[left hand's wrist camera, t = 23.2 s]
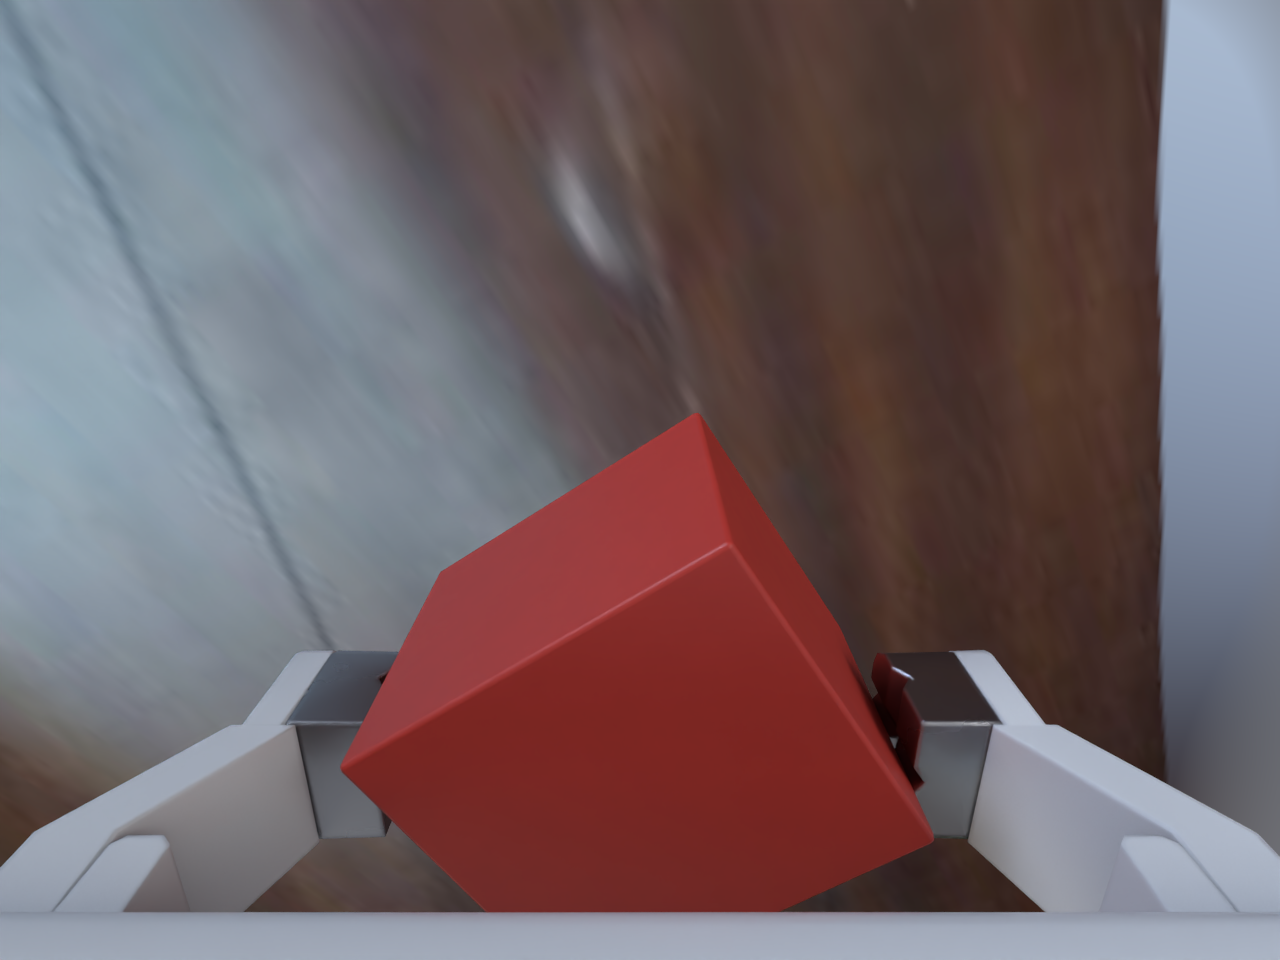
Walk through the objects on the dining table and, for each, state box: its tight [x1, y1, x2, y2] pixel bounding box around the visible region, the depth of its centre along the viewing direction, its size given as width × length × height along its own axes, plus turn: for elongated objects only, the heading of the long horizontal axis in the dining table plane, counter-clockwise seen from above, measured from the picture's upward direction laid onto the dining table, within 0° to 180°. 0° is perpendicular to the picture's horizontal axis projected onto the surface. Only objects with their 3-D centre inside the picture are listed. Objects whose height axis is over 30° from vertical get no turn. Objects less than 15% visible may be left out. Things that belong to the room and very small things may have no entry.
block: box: [340, 413, 934, 912], centre depth 10 cm, size 5×4×4 cm
